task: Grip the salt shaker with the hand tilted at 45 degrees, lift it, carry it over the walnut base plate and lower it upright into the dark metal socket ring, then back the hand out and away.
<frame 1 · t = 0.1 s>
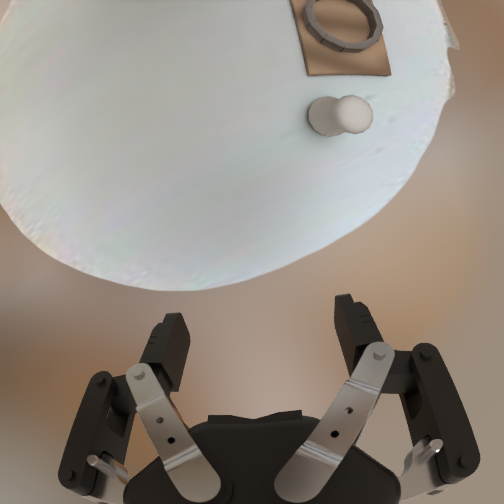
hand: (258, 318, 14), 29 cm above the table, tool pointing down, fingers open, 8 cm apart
socket base: (338, 23, 27), on the table
salt shaker: (324, 116, 35), on the table
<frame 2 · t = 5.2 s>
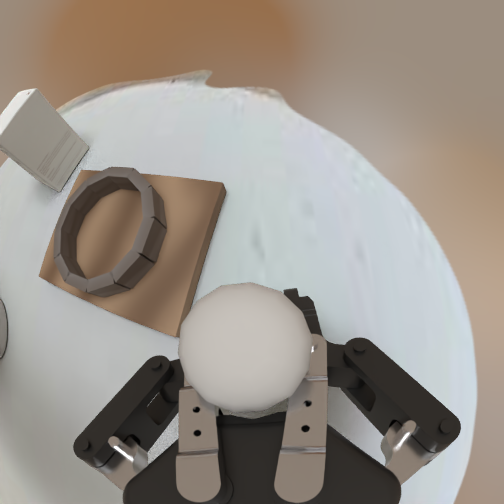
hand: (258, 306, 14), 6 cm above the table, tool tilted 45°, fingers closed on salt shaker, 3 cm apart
socket base: (120, 240, 24), on the table
salt shaker: (267, 341, 20), on the table, touching gripper
supplement box: (63, 166, 29), on the table
when the fingers open (8 cm above the table, at t = 10.6 s): salt shaker stays where it is, resting on socket base.
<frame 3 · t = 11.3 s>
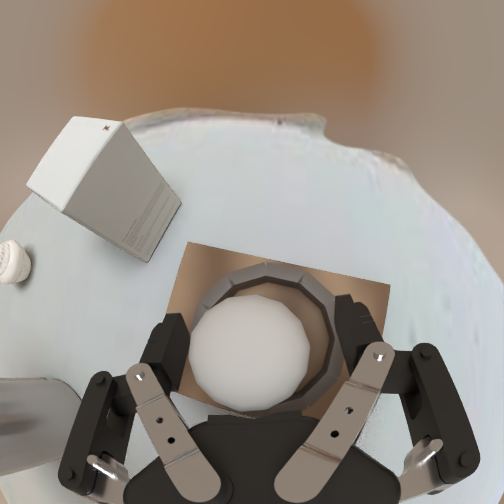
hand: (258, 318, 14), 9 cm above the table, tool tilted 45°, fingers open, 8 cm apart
socket base: (270, 341, 22), on the table
salt shaker: (268, 344, 21), point 1 cm above the table, touching socket base
supplement box: (140, 221, 27), on the table
muffin: (26, 269, 28), on the table
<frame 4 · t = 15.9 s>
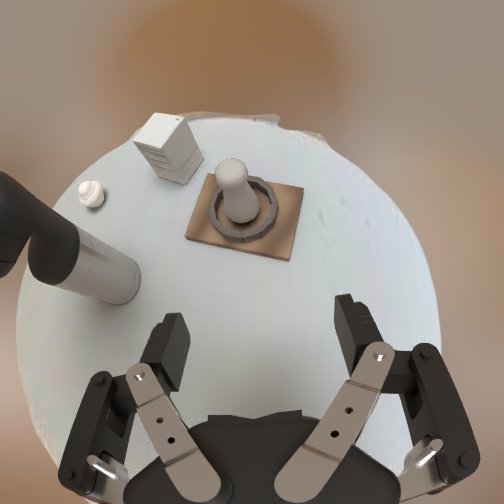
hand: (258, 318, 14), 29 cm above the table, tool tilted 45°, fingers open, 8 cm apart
socket base: (245, 215, 47), on the table
salt shaker: (244, 212, 46), point 1 cm above the table, touching socket base
supplement box: (181, 168, 52), on the table
muffin: (99, 201, 53), on the table
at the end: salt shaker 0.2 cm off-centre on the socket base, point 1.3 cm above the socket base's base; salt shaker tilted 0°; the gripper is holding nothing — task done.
